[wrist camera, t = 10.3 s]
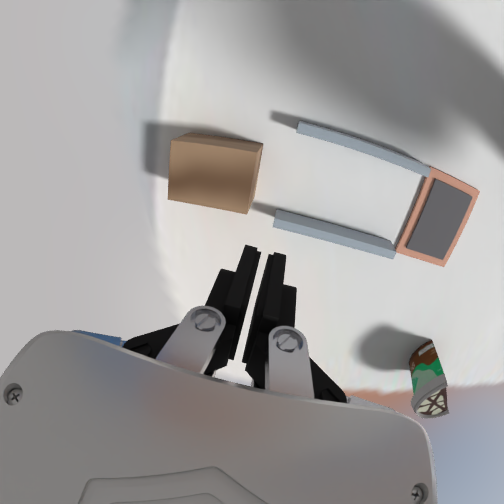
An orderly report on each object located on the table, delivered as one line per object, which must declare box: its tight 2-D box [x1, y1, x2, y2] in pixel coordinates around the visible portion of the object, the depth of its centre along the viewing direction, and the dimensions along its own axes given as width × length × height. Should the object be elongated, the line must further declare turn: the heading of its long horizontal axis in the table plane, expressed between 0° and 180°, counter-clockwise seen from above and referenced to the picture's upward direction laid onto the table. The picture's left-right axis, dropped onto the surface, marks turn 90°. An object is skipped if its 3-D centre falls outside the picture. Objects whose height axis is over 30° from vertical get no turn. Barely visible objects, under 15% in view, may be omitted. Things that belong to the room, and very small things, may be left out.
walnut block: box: [168, 133, 263, 214], centre depth 28 cm, size 6×8×5 cm
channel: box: [273, 121, 431, 259], centre depth 28 cm, size 11×14×2 cm
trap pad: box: [395, 166, 480, 267], centre depth 28 cm, size 11×8×1 cm
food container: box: [409, 340, 449, 418], centre depth 37 cm, size 12×6×10 cm, turn 33°
